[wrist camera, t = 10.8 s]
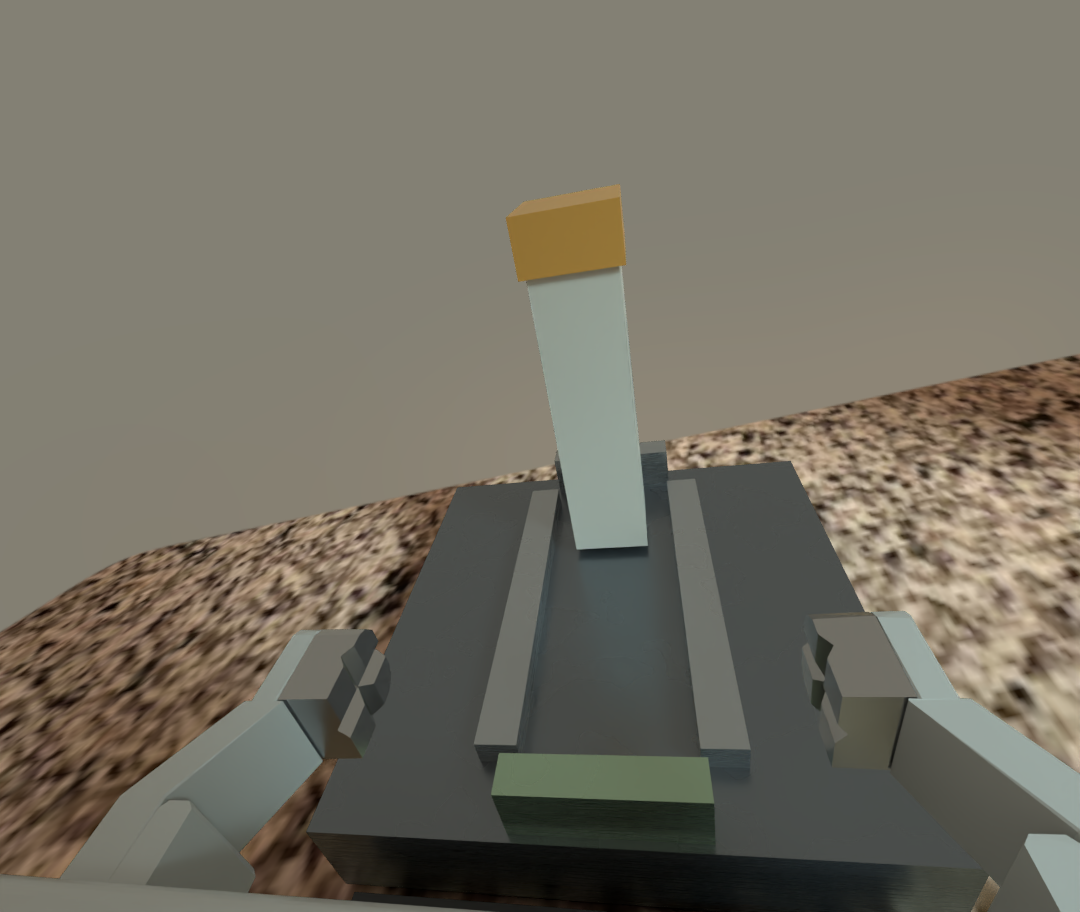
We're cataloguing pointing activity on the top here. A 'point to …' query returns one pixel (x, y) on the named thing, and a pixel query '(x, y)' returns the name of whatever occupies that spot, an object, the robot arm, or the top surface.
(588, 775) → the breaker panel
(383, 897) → the dark grey flat bar
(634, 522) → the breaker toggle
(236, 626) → the top surface
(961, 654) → the top surface
